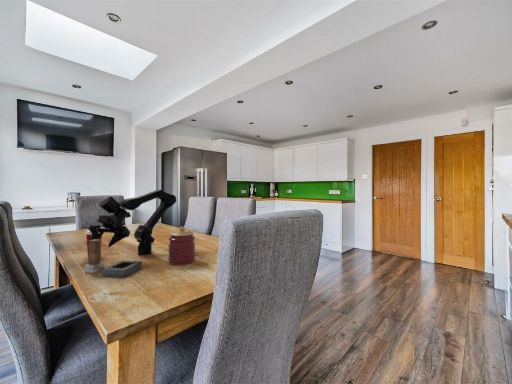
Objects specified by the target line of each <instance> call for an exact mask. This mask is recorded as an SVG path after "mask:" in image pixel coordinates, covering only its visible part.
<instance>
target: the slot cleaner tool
mask: <svg viewBox="0 0 512 384" xmlns="http://www.w3.org/2000/svg"><path fill="white" fill-rule="evenodd" d="M104 264H105V263H104V261H101V256H100V240H98V239H94V240H90V241H89V258H88V263H87V264H85V265H84V273H87V274H88V273H90V274H93V273H97V272H98V271H102V269H104V268H105V266H104Z"/></svg>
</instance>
